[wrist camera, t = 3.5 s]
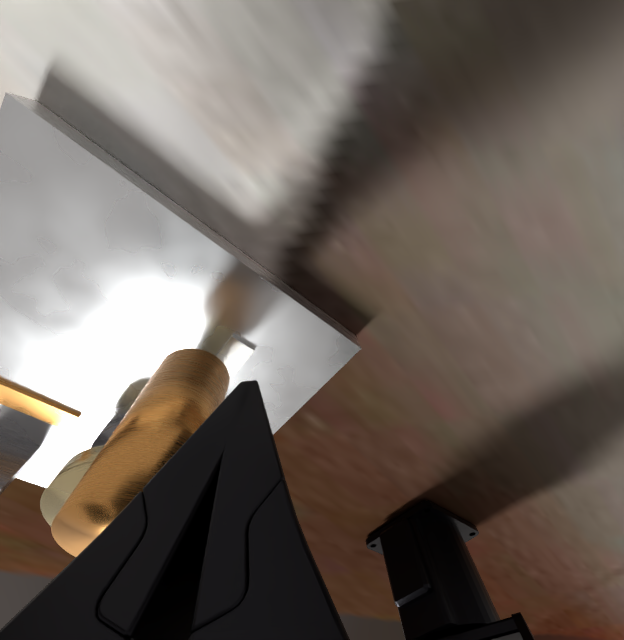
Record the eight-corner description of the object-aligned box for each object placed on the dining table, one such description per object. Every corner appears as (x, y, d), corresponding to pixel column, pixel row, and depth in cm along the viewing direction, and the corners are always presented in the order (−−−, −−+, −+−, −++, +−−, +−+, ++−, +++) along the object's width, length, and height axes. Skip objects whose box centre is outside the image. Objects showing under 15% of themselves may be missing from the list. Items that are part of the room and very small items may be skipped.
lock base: (356, 335, 15) (373, 380, 12) (180, 512, 21) (160, 575, 17) (36, 100, 10) (-85, 67, 7) (-78, 418, 16) (-173, 482, 12)
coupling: (174, 539, 16) (121, 705, 11) (47, 508, 15) (-85, 690, 9) (285, 382, 12) (279, 541, 7) (120, 310, 10) (-57, 453, 5)
